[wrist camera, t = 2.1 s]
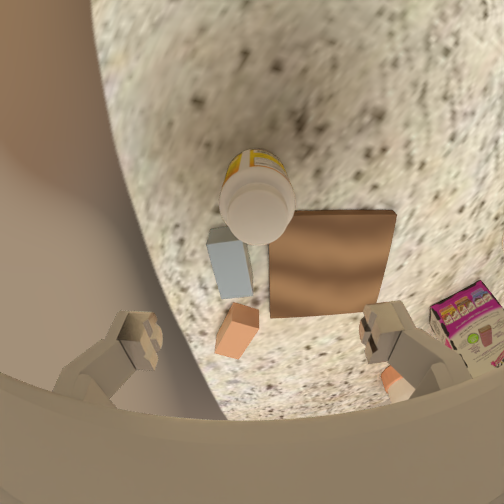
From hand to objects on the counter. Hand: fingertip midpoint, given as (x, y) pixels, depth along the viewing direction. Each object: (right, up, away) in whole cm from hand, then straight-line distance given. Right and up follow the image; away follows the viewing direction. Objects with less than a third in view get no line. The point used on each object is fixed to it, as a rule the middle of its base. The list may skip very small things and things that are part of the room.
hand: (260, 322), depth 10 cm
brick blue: (-2, +2, +21) cm, 22 cm away
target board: (+9, +1, +22) cm, 23 cm away
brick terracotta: (-2, -7, +27) cm, 28 cm away
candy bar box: (+33, -5, +26) cm, 42 cm away
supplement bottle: (0, +10, +16) cm, 19 cm away
